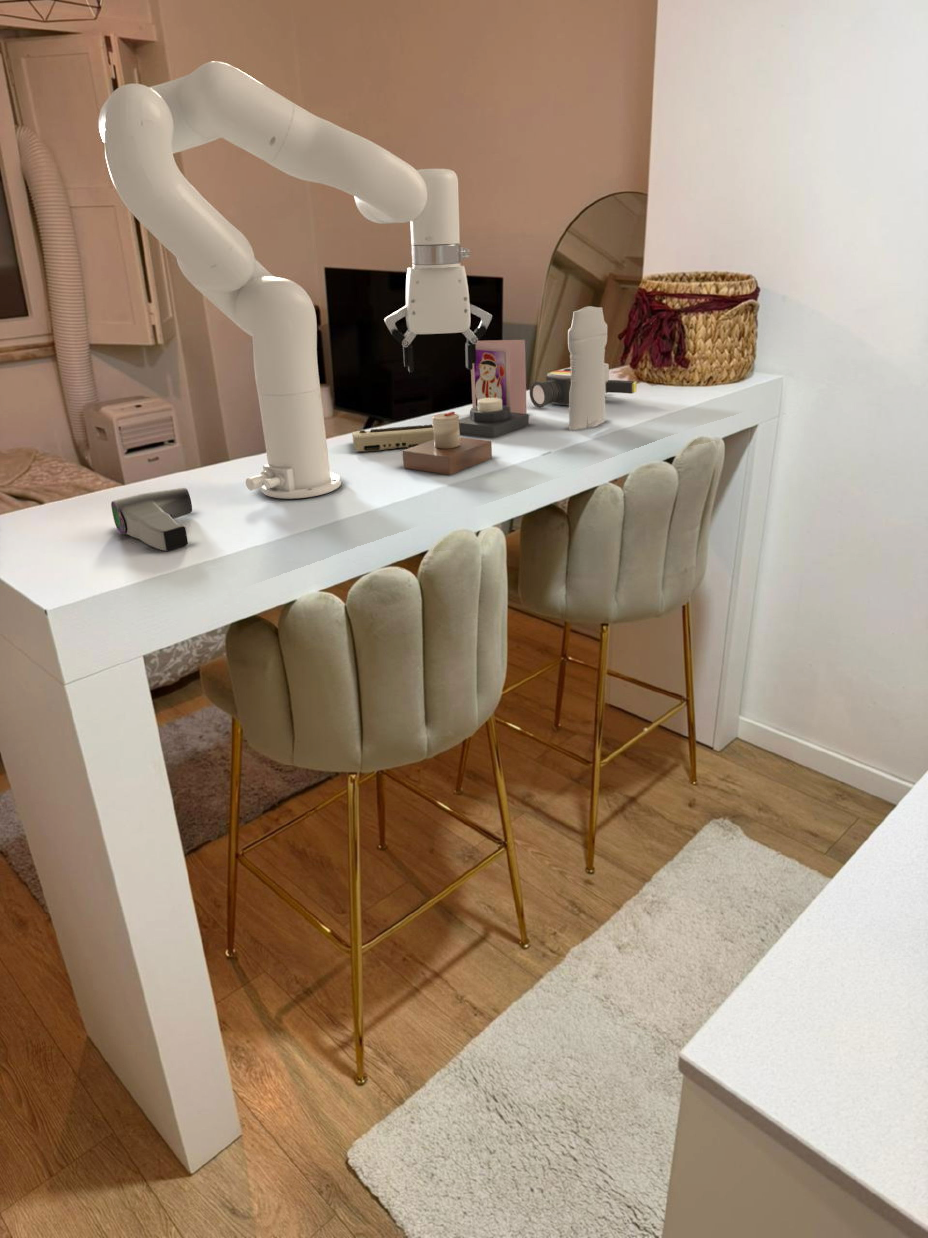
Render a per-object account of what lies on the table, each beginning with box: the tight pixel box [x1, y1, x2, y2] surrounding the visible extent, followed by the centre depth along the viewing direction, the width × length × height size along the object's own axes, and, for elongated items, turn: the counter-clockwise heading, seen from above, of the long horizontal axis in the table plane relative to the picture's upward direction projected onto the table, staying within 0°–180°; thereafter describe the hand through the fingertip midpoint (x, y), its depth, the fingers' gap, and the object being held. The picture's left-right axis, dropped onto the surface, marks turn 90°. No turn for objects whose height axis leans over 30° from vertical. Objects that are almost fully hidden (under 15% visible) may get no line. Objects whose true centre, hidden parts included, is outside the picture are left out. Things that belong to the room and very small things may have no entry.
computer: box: [351, 424, 434, 452], centre depth 165 cm, size 16×8×3 cm, turn 99°
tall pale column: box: [567, 305, 608, 431], centre depth 168 cm, size 11×4×22 cm, turn 132°
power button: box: [477, 398, 502, 412], centre depth 172 cm, size 5×5×2 cm
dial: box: [432, 411, 461, 449], centre depth 150 cm, size 4×4×5 cm
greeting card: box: [470, 339, 528, 414], centre depth 181 cm, size 11×7×15 cm, turn 42°
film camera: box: [529, 362, 638, 409], centre depth 189 cm, size 7×19×15 cm
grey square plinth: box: [459, 405, 530, 439], centre depth 173 cm, size 12×10×4 cm
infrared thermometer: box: [110, 487, 193, 552], centre depth 125 cm, size 5×12×15 cm
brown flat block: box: [402, 436, 493, 476], centre depth 151 cm, size 12×10×3 cm
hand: (440, 369), depth 145 cm, fingers open, 9 cm apart
